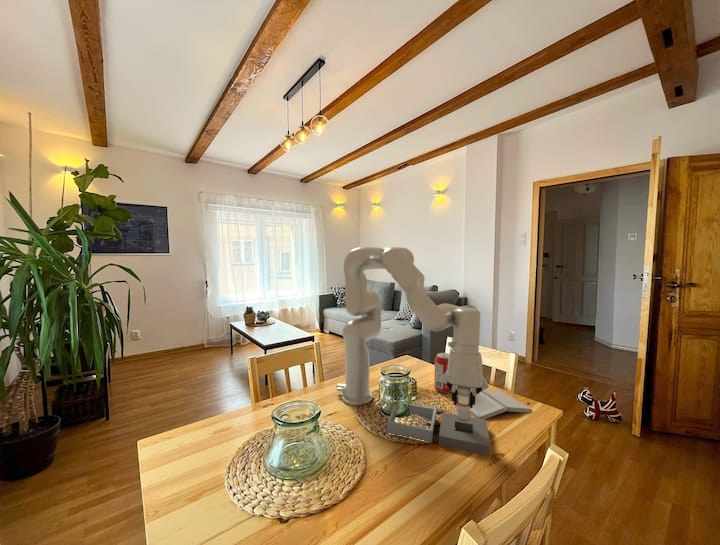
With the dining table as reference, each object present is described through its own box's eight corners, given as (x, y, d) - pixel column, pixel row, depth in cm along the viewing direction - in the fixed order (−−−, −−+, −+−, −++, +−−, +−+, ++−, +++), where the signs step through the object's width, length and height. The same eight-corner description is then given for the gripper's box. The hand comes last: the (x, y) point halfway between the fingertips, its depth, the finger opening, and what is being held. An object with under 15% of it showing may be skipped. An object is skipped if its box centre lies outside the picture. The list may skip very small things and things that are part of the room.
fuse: (455, 419, 92) (456, 388, 91) (455, 412, 96) (457, 382, 95) (469, 422, 90) (471, 390, 90) (469, 415, 94) (471, 385, 94)
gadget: (502, 394, 123) (502, 385, 123) (532, 413, 108) (532, 403, 108) (453, 401, 117) (454, 392, 116) (478, 422, 102) (479, 412, 102)
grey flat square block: (438, 445, 89) (438, 435, 89) (442, 420, 102) (442, 412, 102) (489, 456, 84) (489, 446, 84) (486, 428, 97) (486, 419, 97)
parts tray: (386, 434, 94) (387, 422, 94) (396, 412, 107) (396, 401, 107) (431, 443, 90) (432, 431, 89) (436, 419, 103) (436, 408, 103)
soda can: (433, 392, 123) (434, 357, 122) (434, 384, 130) (435, 351, 129) (453, 395, 120) (454, 359, 119) (453, 387, 128) (454, 353, 127)
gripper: (436, 348, 91) (434, 405, 92) (496, 355, 85) (493, 416, 86) (438, 341, 98) (436, 394, 99) (494, 347, 92) (491, 404, 94)
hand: (463, 404), depth 93 cm, fingers closed on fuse, 4 cm apart
